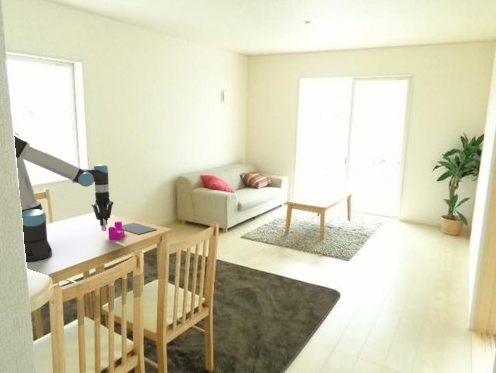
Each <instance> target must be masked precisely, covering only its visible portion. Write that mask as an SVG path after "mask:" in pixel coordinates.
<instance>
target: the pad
mask: <svg viewBox="0 0 496 373" xmlns="http://www.w3.org/2000/svg"><path fill="white" fill-rule="evenodd" d="M122 230H124V232H128V233H132V234H135V235H143V234H146V233H151V232H153V231H157V230H158V229H157V228H154V227H151V226H147V225H143V224H139V223H135V222H131V223H126V224H122Z"/></svg>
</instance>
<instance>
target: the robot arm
mask: <svg viewBox="0 0 496 373" xmlns="http://www.w3.org/2000/svg"><path fill="white" fill-rule="evenodd" d="M14 137H15V148H16V157H17V168H18V179H19V190H20V199H21V207H22V218H23V232H24V244H25V253H26V261H25V262H34V261H41V260H45V259H47V258H49V257H51V256H52V255H53V250H52V247H51V244H50V243H49V241H48V231H47V230H48V229H47V215H46V212H45V210H43V206H42V202H40V201H38V200H37V198H36V195H35V192H34V189H33V185H32V182H31V179H30V176H29V173H28V169H27V167H26V164H25V161H26V162H29V163H31V164H34V165H35V166H38V167H41V168H42V169H45V170H48V171H50V172H52V173H54V174H57V175H59V176H61V177H64V178H65V179H68V180H70V181H71V183H72V184H79V185H80V186H82V187H90V186H92V185H93V183H94V191H95V192H94V194H95V201H94V203H93V204H91V207H92V208H93V212H94V215H95V219H96V220H97V221H99V226H101V231H102V232H107V225H108V220H109V219H110V218H111V214H112V208H113V205H114V201H111V200H110V192H109V190H110V188H109V170H108V166H107V165H106V164H95V165H93V168H85V169H84V168H83V169H82V168H80V167H77V166H76V165H74V164H71V163H69V162H67V161H65V160H63V159H61V158H59V157H56V156H54V155H52V154H50V153H48V152H45V151H44V150H42V149H39V148H37V147H35V146H33V145H30V143H29V141H28V140H25V139H24V138H21V137H20V135H19V134H18V133H17V132H16V131H14ZM24 160H25V161H24Z"/></svg>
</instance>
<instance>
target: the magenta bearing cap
mask: <svg viewBox="0 0 496 373" xmlns="http://www.w3.org/2000/svg"><path fill="white" fill-rule="evenodd" d="M122 225H123V221H117V220H116V221H114V226H109V227H108V241H109V242H110V241H114V242H115V241H121V240H122V239H123V237H124V236H125V231H124V230H122Z"/></svg>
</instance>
